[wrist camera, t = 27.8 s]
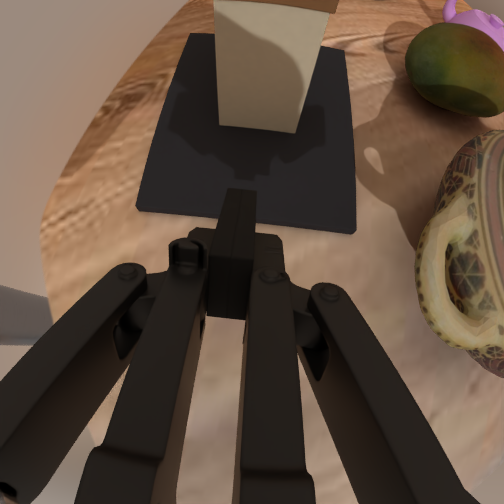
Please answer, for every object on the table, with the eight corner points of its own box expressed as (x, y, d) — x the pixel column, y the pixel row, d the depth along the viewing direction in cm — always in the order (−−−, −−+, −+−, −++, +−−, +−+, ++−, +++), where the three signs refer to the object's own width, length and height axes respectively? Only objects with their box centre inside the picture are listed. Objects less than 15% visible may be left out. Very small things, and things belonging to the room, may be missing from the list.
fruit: (494, 123, 28) (539, 78, 18) (447, 156, 26) (506, 98, 16) (433, 55, 30) (466, 3, 21) (373, 71, 28) (407, 2, 18)
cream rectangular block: (216, 128, 24) (207, -18, 11) (227, 74, 25) (227, -55, 13) (297, 137, 24) (340, -3, 11) (299, 82, 26) (330, -43, 13)
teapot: (425, 18, 33) (446, -21, 24) (490, 50, 33) (514, 18, 25) (447, 65, 30) (478, 21, 21) (515, 100, 30) (547, 67, 22)
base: (138, 211, 23) (50, 82, 9) (190, 39, 28) (179, -74, 14) (352, 234, 23) (465, 127, 10) (341, 56, 28) (380, -51, 15)
